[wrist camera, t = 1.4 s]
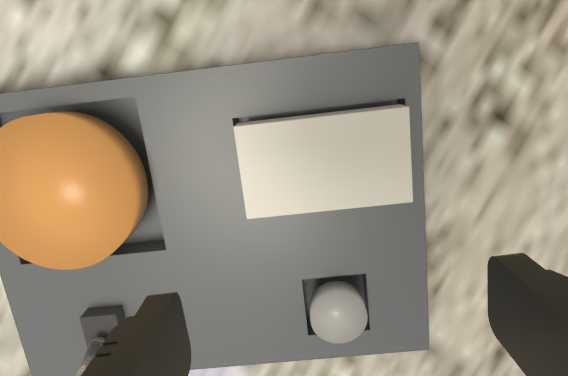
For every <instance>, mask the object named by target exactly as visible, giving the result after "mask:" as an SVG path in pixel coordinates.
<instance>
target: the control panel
mask: <svg viewBox="0 0 568 376" xmlns="http://www.w3.org/2000/svg"><path fill="white" fill-rule="evenodd" d="M397 104H402V105H405V106H409V115H410V140H411V164H412V189H413V202H409V203H399V204H390V205H380V206H370V207H361V208H351V209H341V210H331V211H322V212H312V213H302V214H293V215H283V216H273V217H263V218H254V219H247V217H246V210H245V204H244V197H243V190H242V183H241V176H240V169H239V163H238V156H237V149H236V142H235V135H234V128H233V127H234V126H235V125H236V124H237V123H240V122H249V121H258V120H266V119H275V118H284V117H292V116H301V115H310V114H318V113H327V112H336V111H344V110H353V109H362V108H371V107H379V106H388V105H397ZM56 111H74V112H80V113H85V114H88V115H91V116H94V117H97V118H99V119H101V120H103V121H105V122H106V123H108V124H110V125H111V126H113V127H114V128H115V129H117V130H118V131H119V132H120V133H121V134H122V135H123V136H124V137H125V138H126V139H127V140H128V141H129V142H130V143H131V145H132V146H133V147H134V149H135V150H136V152H137V154H138V155H139V157H140V159H141V161H142V164H143V166H144V169H145V173H146V176H147V182H148V201H147V207H146V210H145V214H144V216H143V218H142V220H141V222H140V224H139V225H138V227H137V229H136V230H135V231H134V232H133V233H132V234H131V236H130V237H129V238H128V239H127V240H126V241H125V242H124V243H123V244H121V245H120V246H119V247H118V248H117V249H116V250H115V251H114V252H113V253H112V254H111V255H110V256H108V257H107V258H105V259H104V260H102V261H100V262H98V263H96V264H94V265H91V266H88V267H85V268H80V269H74V270H59V269H51V268H46V267H42V266H39V265H36V264H33V263H31V262H29V261H27V260H24V259H23V258H21V257H19V256H18V255H16V254H14V253H13V252H12V251H10V250H9V249H8V248H6V247H5V246H4V245H3V244H2V243H1V242H0V276H1V279H2V282H3V285H4V289H5V292H6V295H7V298H8V301H9V304H10V308H11V311H12V314H13V317H14V320H15V324H16V327H17V330H18V333H19V336H20V340H21V343H22V346H23V349H24V352H25V356H26V359H27V362H28V365H29V368H30V372H31V375H32V376H76V375H77V372H78V370H79V367H80V365H81V363H82V360H83V358H84V355H85V353H86V350H87V348H88V345H89V343H90V342H91V341H92V340H93V339H94V338H97V337H102V338H105V339H106V338H107V336H108V335H109V333H110V332H111V330H112V329H113V328H114V327H116V326H117V325H118V324H119V323H121V322H122V321H123V320H124V319H126V318H127V317H130V316H135V314H136V313H137V311H138V309H139V308H140V306H141V305H142V303H143V301H144V300H145V298H146V297H147V296H148V295H155V294H164V293H173V292H177V293H178V294H179V296H180V299H181V302H182V307H183V312H184V316H185V321H186V326H187V330H188V335H189V340H190V345H191V366H190V370H194V369H206V368H217V367H229V366H241V365H253V364H265V363H276V362H288V361H300V360H312V359H324V358H335V357H347V356H359V355H371V354H383V353H394V352H406V351H418V350H429V322H428V293H427V263H426V233H425V203H424V174H423V144H422V114H421V85H420V55H419V42H418V43H410V44H402V45H393V46H385V47H377V48H369V49H361V50H352V51H344V52H336V53H328V54H320V55H312V56H303V57H295V58H287V59H279V60H271V61H263V62H254V63H246V64H238V65H230V66H222V67H214V68H205V69H197V70H189V71H181V72H173V73H164V74H156V75H148V76H140V77H132V78H124V79H115V80H107V81H99V82H91V83H83V84H75V85H66V86H58V87H50V88H42V89H34V90H26V91H17V92H9V93H1V94H0V128H1V127H2V126H3V125H5V124H7V123H9V122H11V121H13V120H16V119H18V118H21V117H26V116H31V115H37V114H43V113H49V112H56ZM330 281H344V282H347V283H350V284H352V285H353V286H355V287H356V288H357V289H358V290H359V292H360V293H361V295H362V298H363V301H364V304H365V307H366V311H367V315H368V320H367V325H366V327H365V329H364V331H363V332H362V333H361V335H359V336H358V337H357V338H356V339H354V340H352V341H350V342H346V343H339V344H337V343H330V342H327V341H325V340H323V339H321V338H320V337H319V336H318V335H317V334H316V333H315V332H314V330H313V328H312V326H311V322H310V307H309V304H310V298H311V296H312V294H313V292H314V291H315V290H316V289H317V288H318V287H319V286H321V285H322V284H324V283H327V282H330Z"/></svg>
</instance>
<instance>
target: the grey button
mask: <svg viewBox="0 0 568 376" xmlns="http://www.w3.org/2000/svg"><path fill="white" fill-rule="evenodd" d="M309 307H310V322H311V326H312V328H313V330H314V332H315V333H316V334H317V335H318V336H319V337H320V338H321V339H323V340H325V341H327V342H330V343H337V344H339V343H346V342H350V341H352V340H354V339H356V338H357V337H358V336H359V335H361V333H362V332H363V331H364V329H365V327H366V325H367V320H368V315H367V311H366V307H365V304H364V301H363V298H362V295H361V293H360V292H359V290H358V289H357V288H356V287H355V286H353V285H352V284H350V283H347V282H344V281H330V282H327V283H324V284H322V285H321V286H319V287H318V288H317V289H316V290H315V291H314V292H313V294H312V296H311V298H310V304H309Z"/></svg>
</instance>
